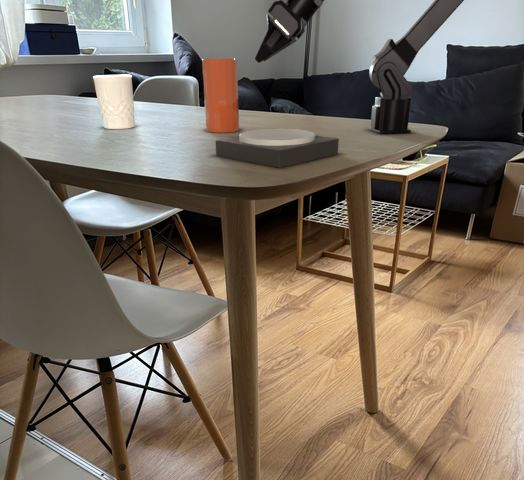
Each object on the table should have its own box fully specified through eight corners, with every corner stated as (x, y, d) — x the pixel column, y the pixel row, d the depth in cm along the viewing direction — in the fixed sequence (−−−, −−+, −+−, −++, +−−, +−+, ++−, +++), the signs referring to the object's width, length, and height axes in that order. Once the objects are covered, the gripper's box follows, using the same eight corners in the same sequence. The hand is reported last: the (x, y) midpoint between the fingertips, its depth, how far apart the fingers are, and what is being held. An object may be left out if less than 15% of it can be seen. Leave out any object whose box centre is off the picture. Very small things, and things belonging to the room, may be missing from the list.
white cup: (133, 129, 109) (126, 76, 104) (96, 129, 109) (87, 77, 104) (141, 124, 116) (135, 74, 111) (107, 124, 116) (99, 75, 111)
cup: (236, 127, 111) (234, 58, 104) (240, 131, 105) (238, 59, 98) (205, 128, 110) (201, 59, 103) (207, 133, 104) (203, 59, 97)
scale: (274, 144, 91) (274, 125, 89) (337, 154, 83) (339, 133, 81) (216, 155, 83) (215, 134, 81) (279, 167, 74) (279, 144, 72)
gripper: (285, -44, 98) (235, 29, 105) (277, -60, 82) (218, 27, 89) (327, 2, 101) (275, 69, 108) (327, -6, 85) (266, 74, 92)
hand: (259, 60), depth 99 cm, fingers open, 9 cm apart
